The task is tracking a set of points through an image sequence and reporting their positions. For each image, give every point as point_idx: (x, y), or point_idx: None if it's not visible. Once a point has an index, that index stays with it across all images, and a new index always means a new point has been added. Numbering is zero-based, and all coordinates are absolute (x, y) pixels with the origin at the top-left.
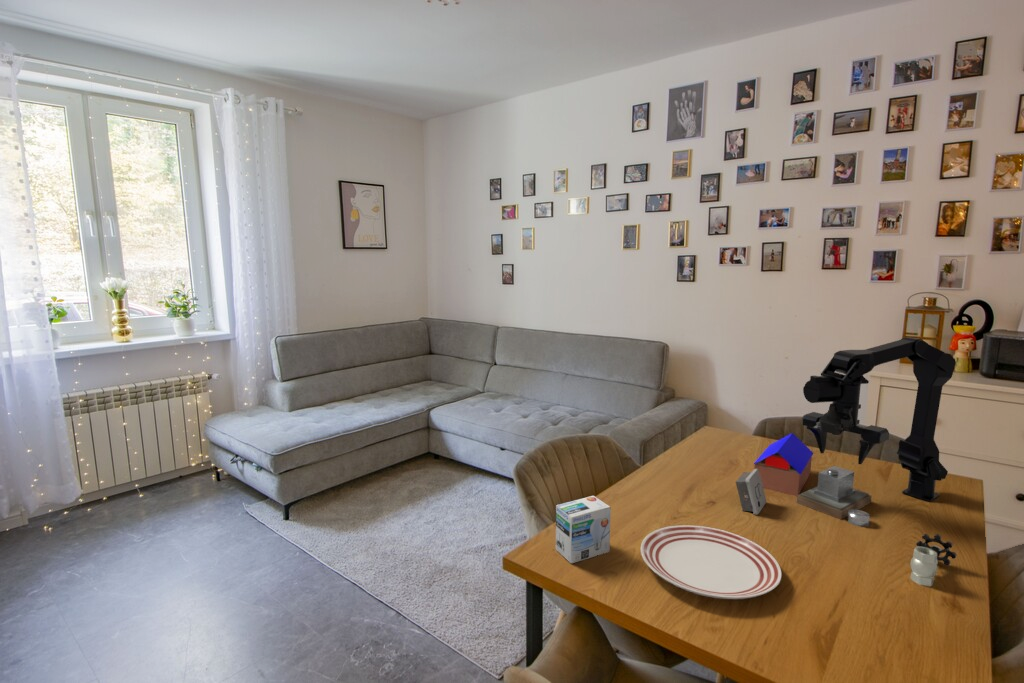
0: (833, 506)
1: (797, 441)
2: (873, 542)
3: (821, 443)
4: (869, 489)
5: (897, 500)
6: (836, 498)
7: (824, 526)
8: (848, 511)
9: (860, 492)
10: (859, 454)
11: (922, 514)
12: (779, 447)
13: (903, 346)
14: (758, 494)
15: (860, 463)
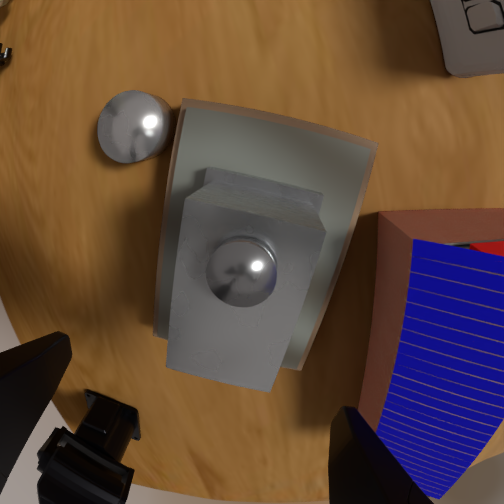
0: (217, 111)
1: (424, 479)
2: (91, 30)
3: (369, 476)
4: (198, 401)
5: (126, 370)
6: (216, 169)
7: (226, 8)
8: (160, 114)
9: None
10: (10, 371)
11: (63, 318)
12: None
13: None
14: None
15: (53, 335)
